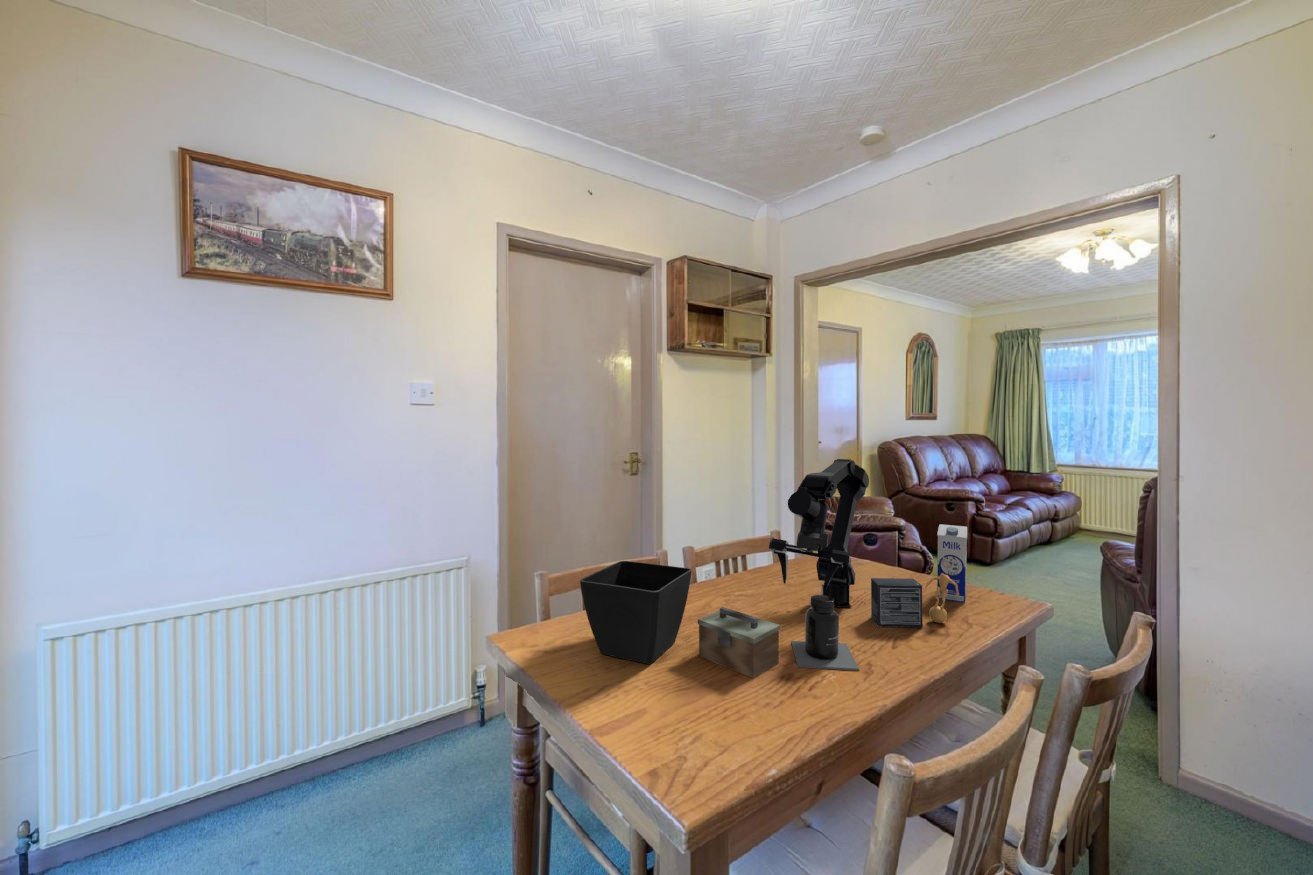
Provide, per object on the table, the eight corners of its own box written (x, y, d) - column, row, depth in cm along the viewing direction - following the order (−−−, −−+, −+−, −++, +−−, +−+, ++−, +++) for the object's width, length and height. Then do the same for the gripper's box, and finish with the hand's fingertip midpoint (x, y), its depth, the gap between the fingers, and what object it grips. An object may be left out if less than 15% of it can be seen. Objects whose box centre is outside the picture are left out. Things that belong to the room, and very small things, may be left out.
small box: (913, 618, 134) (913, 577, 133) (923, 628, 127) (924, 585, 127) (870, 617, 135) (870, 576, 134) (878, 627, 128) (878, 584, 128)
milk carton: (966, 595, 150) (967, 525, 149) (965, 603, 144) (966, 530, 143) (938, 591, 154) (939, 523, 153) (936, 598, 148) (937, 527, 147)
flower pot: (622, 625, 130) (621, 558, 130) (693, 639, 122) (693, 567, 121) (578, 657, 113) (577, 579, 113) (657, 675, 105) (657, 592, 104)
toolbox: (696, 656, 113) (696, 610, 113) (724, 642, 120) (724, 599, 120) (753, 679, 103) (753, 629, 103) (780, 663, 110) (780, 615, 110)
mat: (846, 645, 118) (846, 643, 118) (859, 670, 106) (859, 668, 106) (791, 642, 120) (791, 640, 120) (797, 667, 108) (797, 665, 108)
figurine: (917, 618, 133) (917, 571, 133) (930, 613, 137) (930, 567, 136) (950, 629, 126) (951, 580, 126) (963, 624, 130) (964, 575, 129)
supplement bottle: (837, 662, 109) (837, 605, 108) (803, 657, 112) (803, 601, 111) (839, 649, 115) (839, 594, 115) (807, 644, 118) (807, 591, 117)
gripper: (771, 511, 127) (760, 576, 123) (853, 525, 120) (844, 594, 116) (776, 519, 137) (767, 580, 133) (853, 532, 130) (844, 597, 126)
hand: (803, 587), depth 127 cm, fingers open, 9 cm apart
